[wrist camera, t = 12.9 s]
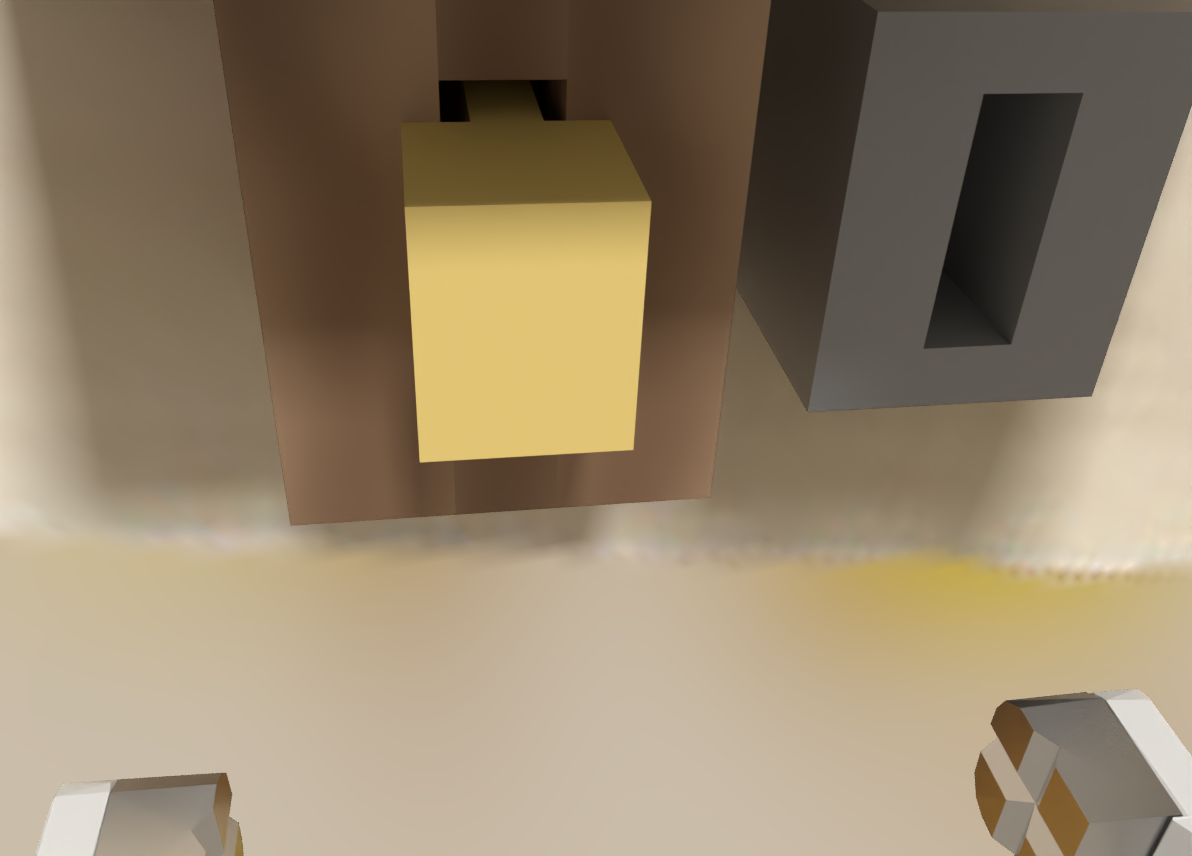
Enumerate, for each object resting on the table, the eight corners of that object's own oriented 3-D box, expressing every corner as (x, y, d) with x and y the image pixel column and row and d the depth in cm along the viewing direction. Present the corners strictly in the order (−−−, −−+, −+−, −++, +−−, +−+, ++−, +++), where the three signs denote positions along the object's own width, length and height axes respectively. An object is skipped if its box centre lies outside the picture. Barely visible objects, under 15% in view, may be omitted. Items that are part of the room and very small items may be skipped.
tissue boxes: (912, -282, 27) (1528, -222, 13) (814, 298, 36) (1107, 728, 22) (-50, -325, 24) (-731, -308, 9) (105, 326, 33) (-118, 857, 18)
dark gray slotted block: (1046, -61, 31) (1223, 12, 24) (964, 265, 36) (1091, 396, 30) (769, -65, 30) (877, 11, 23) (729, 274, 35) (807, 412, 29)
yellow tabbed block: (580, 60, 25) (652, 201, 18) (574, 264, 28) (633, 450, 21) (398, 61, 24) (405, 207, 18) (410, 269, 27) (419, 462, 20)
